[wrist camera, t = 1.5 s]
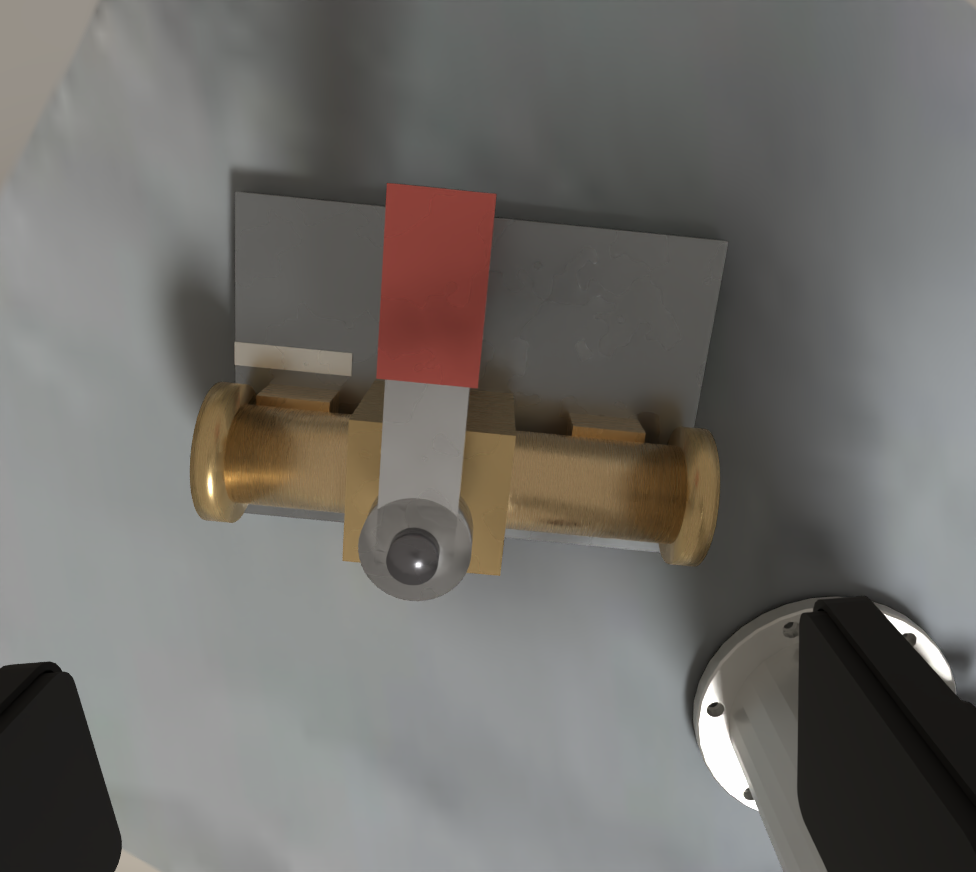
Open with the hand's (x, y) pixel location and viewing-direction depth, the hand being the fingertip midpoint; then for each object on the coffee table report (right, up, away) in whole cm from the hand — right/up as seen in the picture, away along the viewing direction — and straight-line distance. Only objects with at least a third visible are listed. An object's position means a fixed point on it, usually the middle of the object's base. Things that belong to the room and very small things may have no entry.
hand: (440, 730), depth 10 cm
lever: (-1, +5, +15) cm, 16 cm away
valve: (0, +6, +25) cm, 25 cm away
